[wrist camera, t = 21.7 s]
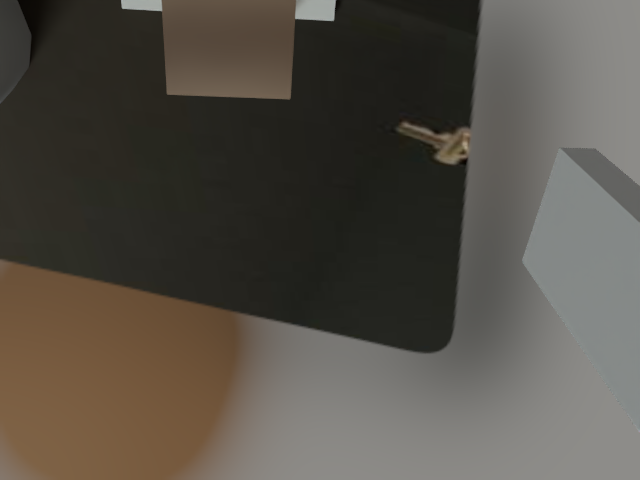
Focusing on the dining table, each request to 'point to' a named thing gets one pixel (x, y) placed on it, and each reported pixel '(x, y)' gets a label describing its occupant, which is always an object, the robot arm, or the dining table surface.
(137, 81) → the dining table surface
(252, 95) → the walnut block
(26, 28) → the cup
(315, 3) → the board
